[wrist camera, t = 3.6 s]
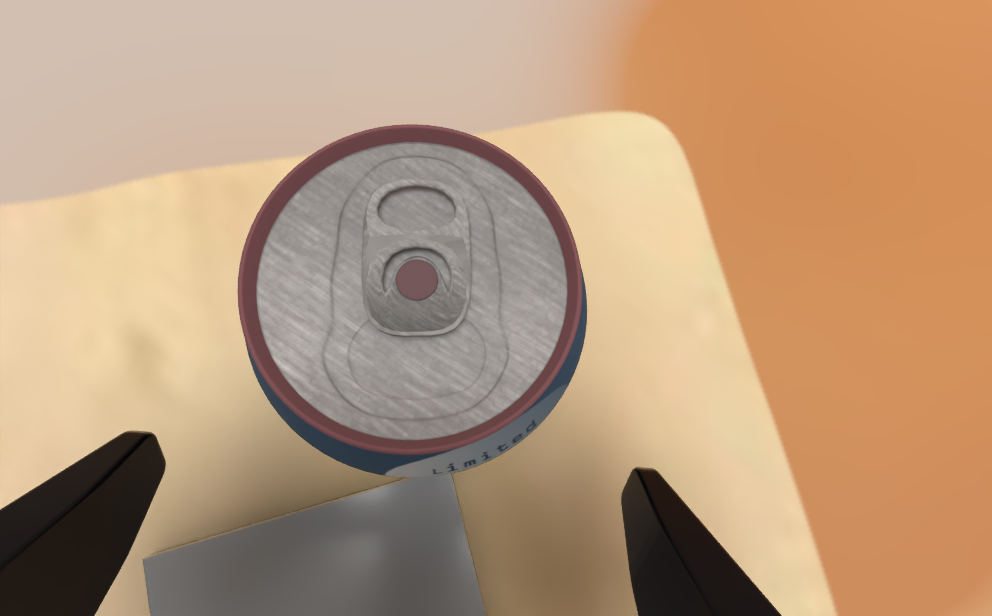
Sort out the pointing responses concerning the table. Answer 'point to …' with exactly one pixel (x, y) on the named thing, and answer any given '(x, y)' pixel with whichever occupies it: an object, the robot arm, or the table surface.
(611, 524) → the table surface
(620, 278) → the table surface
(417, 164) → the soda can
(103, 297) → the table surface
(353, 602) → the coaster
